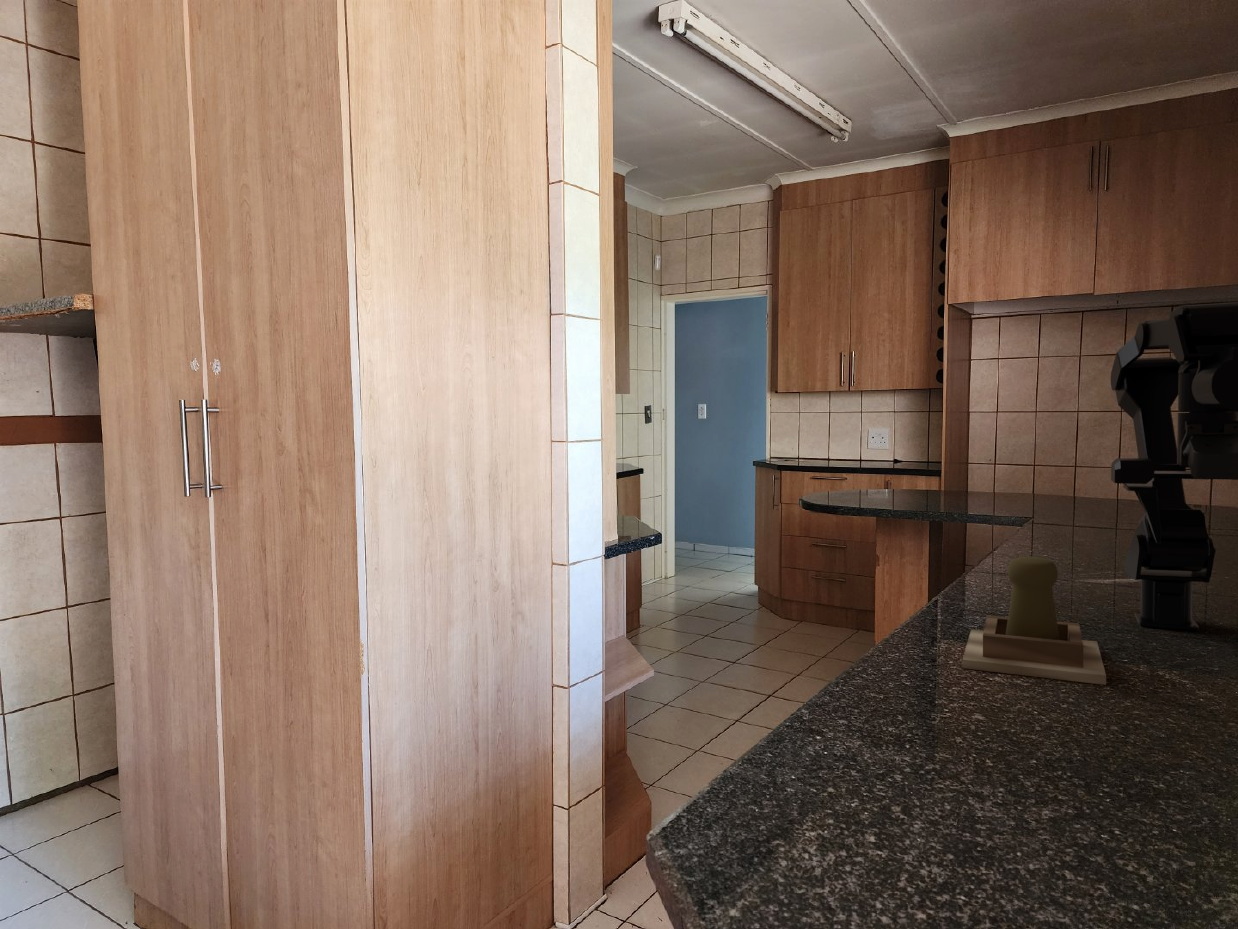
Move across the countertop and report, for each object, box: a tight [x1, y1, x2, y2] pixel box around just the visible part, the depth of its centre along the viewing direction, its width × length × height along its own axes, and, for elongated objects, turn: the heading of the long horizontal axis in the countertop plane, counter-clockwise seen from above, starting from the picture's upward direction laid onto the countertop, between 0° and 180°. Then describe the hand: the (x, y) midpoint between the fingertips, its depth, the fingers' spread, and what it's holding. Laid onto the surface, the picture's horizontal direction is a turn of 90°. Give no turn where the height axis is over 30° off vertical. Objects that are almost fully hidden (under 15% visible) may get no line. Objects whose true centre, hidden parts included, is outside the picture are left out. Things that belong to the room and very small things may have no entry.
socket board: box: [962, 615, 1107, 686], centre depth 92 cm, size 14×14×4 cm
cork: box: [1006, 555, 1060, 640], centre depth 92 cm, size 6×6×11 cm
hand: (1205, 544), depth 92 cm, fingers open, 9 cm apart
